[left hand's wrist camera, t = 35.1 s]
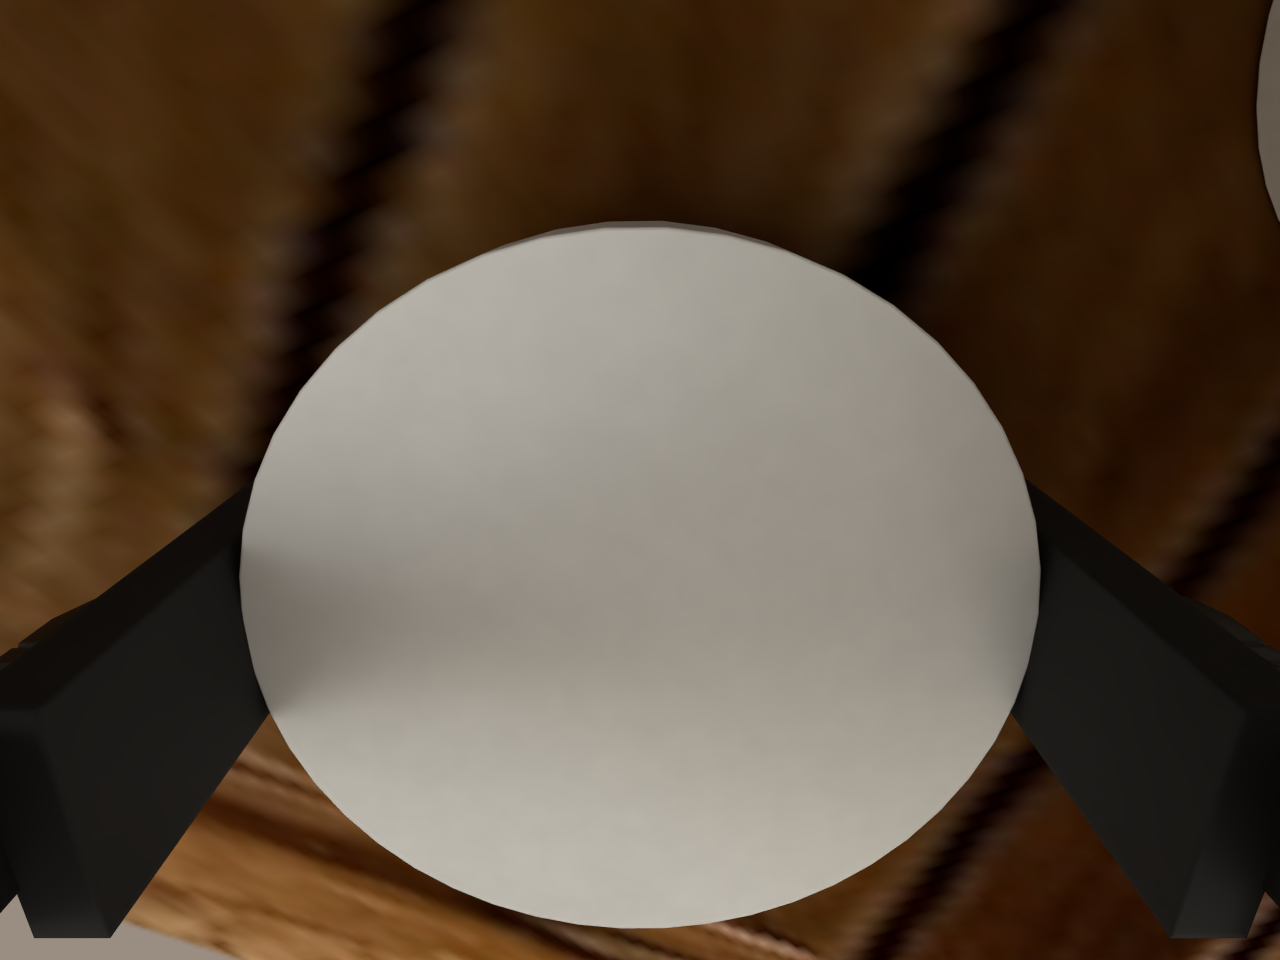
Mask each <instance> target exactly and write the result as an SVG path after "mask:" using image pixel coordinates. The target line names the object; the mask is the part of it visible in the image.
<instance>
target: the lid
mask: <svg viewBox="0 0 1280 960" xmlns="http://www.w3.org/2000/svg"><path fill="white" fill-rule="evenodd" d="M1040 575H1041V567H1040V558H1039V548H1038V539H1037V529H1036V521H1035V517H1034V513H1033V509H1032V506H1031V502H1030V498H1029V494H1028V491H1027V487H1026V483H1025V479H1024V475H1023V473H1022V470H1021V468H1020V466H1019V463H1018V461H1017V459H1016V457H1015V454H1014V452H1013V450H1012V448H1011V445H1010V443H1009V441H1008V439H1007V436H1006V434H1005V432H1004V430H1003V427H1002V426H1001V424H1000V423H999V421H998V419H997V418H996V416H995V415H994V413H993V412H992V410H991V409H990V407H989V405H988V404H987V402H986V401H985V399H984V398H983V396H982V395H981V393H980V391H979V390H978V388H977V387H976V385H975V384H974V382H973V381H972V380H971V379H970V378H969V377H968V376H967V374H966V373H965V372H964V371H963V370H962V369H961V368H960V367H959V365H958V364H957V363H956V362H955V361H954V360H953V359H952V358H951V356H950V355H949V354H948V353H947V352H946V351H945V350H944V348H943V347H942V346H941V345H940V344H939V343H938V342H937V341H936V340H935V339H934V338H932V337H931V336H930V335H929V334H928V333H926V332H925V331H924V330H923V329H922V328H920V327H919V326H918V325H917V324H916V323H914V322H913V321H912V320H911V319H910V318H909V317H907V316H906V315H905V314H904V313H903V312H901V311H900V310H899V309H898V308H897V307H895V306H894V305H893V304H891V303H889V302H888V301H886V300H884V299H883V298H881V297H879V296H878V295H876V294H875V293H873V292H871V291H870V290H868V289H866V288H865V287H863V286H862V285H860V284H858V283H857V282H855V281H853V280H852V279H850V278H848V277H847V276H845V275H843V274H841V273H839V272H836V271H834V270H832V269H830V268H827V267H825V266H823V265H820V264H818V263H816V262H813V261H811V260H809V259H806V258H804V257H802V256H799V255H797V254H795V253H792V252H790V251H788V250H785V249H783V248H780V247H778V246H776V245H773V244H771V243H768V242H766V241H762V240H758V239H755V238H751V237H747V236H744V235H740V234H736V233H733V232H729V231H725V230H722V229H718V228H713V227H706V226H698V225H690V224H682V223H674V222H666V221H615V222H603V223H596V224H589V225H583V226H576V227H569V228H563V229H556V230H553V231H549V232H546V233H543V234H539V235H536V236H533V237H529V238H526V239H522V240H519V241H516V242H512V243H509V244H506V245H503V246H501V247H498V248H496V249H493V250H491V251H488V252H486V253H484V254H481V255H479V256H477V257H475V258H472V259H470V260H468V261H466V262H464V263H462V264H459V265H457V266H455V267H453V268H451V269H448V270H446V271H444V272H442V273H440V274H437V275H435V276H433V277H431V278H429V279H427V280H425V281H424V282H422V283H421V284H419V285H417V286H416V287H414V288H413V289H411V290H410V291H408V292H407V293H405V294H404V295H402V296H400V297H399V298H397V299H396V300H394V301H393V302H391V303H390V304H388V305H387V306H385V307H383V308H382V309H380V310H379V311H377V312H376V313H375V314H374V315H373V316H372V317H371V318H370V319H368V320H367V321H366V322H365V323H364V324H363V325H362V326H360V327H359V328H358V329H357V330H356V331H355V332H354V333H352V334H351V335H350V336H349V337H348V338H347V339H346V340H344V341H343V342H342V343H341V344H340V345H339V346H338V347H336V348H335V350H334V351H333V352H332V353H331V354H330V356H329V357H328V358H327V359H326V360H325V362H324V363H323V364H322V365H321V366H320V367H319V369H318V370H317V371H316V372H315V373H314V375H313V376H312V377H311V378H310V379H309V381H308V382H307V383H306V384H305V385H304V386H303V388H302V389H301V390H300V392H299V393H298V395H297V397H296V398H295V400H294V402H293V403H292V405H291V407H290V408H289V410H288V412H287V413H286V415H285V416H284V418H283V420H282V421H281V423H280V425H279V426H278V428H277V430H276V431H275V433H274V435H273V437H272V440H271V442H270V444H269V447H268V449H267V452H266V454H265V457H264V459H263V461H262V464H261V466H260V469H259V471H258V473H257V476H256V478H255V481H254V485H253V489H252V493H251V497H250V502H249V506H248V510H247V514H246V518H245V522H244V527H243V535H242V548H241V560H240V573H239V581H240V595H241V609H242V615H243V620H244V625H245V630H246V635H247V639H248V644H249V649H250V654H251V658H252V663H253V667H254V671H255V675H256V678H257V680H258V683H259V686H260V688H261V691H262V694H263V696H264V699H265V702H266V704H267V707H268V709H269V711H270V713H271V715H272V717H273V718H274V720H275V722H276V724H277V726H278V728H279V729H280V731H281V733H282V735H283V737H284V739H285V740H286V742H287V744H288V746H289V748H290V749H291V750H292V752H293V753H294V755H295V756H296V757H297V759H298V760H299V762H300V763H301V764H302V766H303V767H304V768H305V770H306V771H307V773H308V774H309V775H310V777H311V778H312V779H313V781H314V782H315V783H316V785H317V786H318V787H319V788H320V789H321V790H322V791H323V792H324V793H325V794H326V795H327V796H328V797H329V798H330V800H331V801H332V802H333V803H334V804H335V805H336V806H337V807H338V808H339V809H340V810H341V811H342V812H343V814H344V815H345V816H347V817H348V818H349V819H350V820H351V821H353V822H354V823H355V824H356V825H357V826H358V827H360V828H361V829H362V830H363V831H364V832H366V833H367V834H368V835H369V836H370V837H371V838H373V839H374V840H375V841H376V842H377V843H379V844H380V845H382V846H383V847H385V848H386V849H388V850H389V851H390V852H392V853H393V854H395V855H396V856H398V857H399V858H401V859H402V860H404V861H405V862H407V863H408V864H410V865H411V866H413V867H414V868H416V869H418V870H420V871H422V872H424V873H426V874H428V875H429V876H431V877H433V878H435V879H437V880H439V881H441V882H443V883H445V884H446V885H448V886H450V887H452V888H454V889H457V890H459V891H462V892H464V893H467V894H469V895H472V896H474V897H477V898H479V899H482V900H484V901H487V902H489V903H492V904H495V905H498V906H501V907H505V908H508V909H512V910H515V911H519V912H522V913H526V914H529V915H533V916H536V917H542V918H547V919H552V920H558V921H563V922H568V923H574V924H580V925H592V926H603V927H614V928H669V927H678V926H688V925H698V924H708V923H713V922H718V921H723V920H728V919H733V918H738V917H743V916H748V915H752V914H756V913H759V912H762V911H765V910H769V909H772V908H775V907H779V906H782V905H785V904H788V903H792V902H794V901H797V900H799V899H802V898H804V897H806V896H809V895H811V894H813V893H816V892H818V891H821V890H823V889H825V888H828V887H830V886H833V885H835V884H836V883H838V882H840V881H842V880H844V879H846V878H847V877H849V876H851V875H853V874H855V873H856V872H858V871H860V870H862V869H864V868H866V867H867V866H869V865H871V864H873V863H874V862H875V861H877V860H878V859H880V858H881V857H883V856H884V855H886V854H887V853H888V852H890V851H891V850H893V849H894V848H896V847H897V846H898V845H900V844H901V843H903V842H904V841H906V840H907V839H908V838H909V837H911V836H912V835H913V834H914V833H915V832H916V831H917V830H919V829H920V828H921V827H922V826H923V825H924V824H925V823H926V822H928V821H929V820H930V819H931V818H932V817H933V816H934V815H936V814H937V813H938V812H939V811H940V810H941V809H942V808H943V807H944V806H945V805H946V803H947V802H948V801H949V800H950V799H951V798H952V797H953V796H954V794H955V793H956V792H957V791H958V790H959V789H960V788H961V787H962V786H963V784H964V783H965V782H966V781H967V780H968V779H969V778H970V776H971V775H972V773H973V772H974V771H975V769H976V768H977V766H978V765H979V763H980V762H981V760H982V759H983V758H984V756H985V755H986V753H987V752H988V750H989V749H990V748H991V746H992V745H993V743H994V742H995V740H996V738H997V736H998V734H999V732H1000V730H1001V728H1002V726H1003V724H1004V722H1005V720H1006V719H1007V717H1008V715H1009V713H1010V711H1011V709H1012V707H1013V705H1014V703H1015V700H1016V698H1017V695H1018V692H1019V689H1020V686H1021V683H1022V681H1023V678H1024V675H1025V672H1026V669H1027V666H1028V662H1029V658H1030V653H1031V648H1032V643H1033V638H1034V634H1035V629H1036V624H1037V619H1038V614H1039V596H1040Z"/></svg>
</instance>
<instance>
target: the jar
mask: <svg viewBox="0 0 1280 960" xmlns="http://www.w3.org/2000/svg"><path fill="white" fill-rule="evenodd" d="M1256 118H1257V137H1258V150H1259V155H1260V160H1261V165H1262V170H1263V175H1264V180H1265V185H1266V188H1267V191H1268V194H1269V196H1270V199H1271V202H1272V205H1273V207H1274V210H1275V213H1276V216H1277V218H1278V220H1279V222H1280V0H1273V2H1272V5H1271V8H1270V11H1269V15H1268V19H1267V25H1266V30H1265V35H1264V40H1263V45H1262V50H1261V56H1260V61H1259V72H1258V85H1257V98H1256Z"/></svg>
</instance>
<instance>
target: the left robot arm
mask: <svg viewBox="0 0 1280 960" xmlns="http://www.w3.org/2000/svg"><path fill="white" fill-rule="evenodd" d="M1024 479H1025V478H1024ZM254 481H255V479H254V480H253V481H252V482H250V483H249V484H248V485H246V486H245V487H244V488H242V489H241V490H240V491H238V492H237V493H236V494H234V495H233V496H232V497H230V498H229V499H228V500H226V501H225V502H224V503H222V504H221V505H220V506H218V507H217V508H216V509H214V510H213V511H212V512H210V513H209V514H208V515H207V516H205V517H204V518H203V519H201V520H200V521H199V522H197V523H196V524H195V525H193V526H192V527H191V528H189V529H188V530H187V531H185V532H184V533H183V534H181V535H180V536H179V537H177V538H176V539H175V540H173V541H172V542H171V543H169V544H168V545H167V546H165V547H164V548H163V549H161V550H160V551H159V552H157V553H156V554H155V555H153V556H152V557H151V558H149V559H148V560H147V561H145V562H144V563H143V564H141V565H140V566H139V567H137V568H136V569H135V570H133V571H132V572H131V573H129V574H128V575H127V576H125V577H124V578H123V579H121V580H120V581H119V582H117V583H116V584H115V585H113V586H112V587H111V588H109V589H108V590H107V591H105V592H104V593H103V594H101V595H100V596H99V597H98V598H96V599H94V600H92V601H89V602H87V603H85V604H83V605H81V606H79V607H77V608H75V609H72V610H70V611H68V612H66V613H64V614H62V615H60V616H58V617H55V618H53V619H51V620H50V621H49V622H47V623H46V624H45V625H43V626H42V627H40V628H39V629H38V630H36V631H35V632H34V633H32V634H31V635H29V636H28V637H27V638H25V639H24V640H23V641H21V642H20V643H19V647H18V648H12V649H10V650H9V651H8V652H6V653H5V654H3V655H2V656H1V657H0V913H1V912H2V910H3V909H4V908H5V907H6V906H7V905H8V904H9V903H10V901H11V900H12V899H13V898H14V897H15V896H16V895H18V897H19V900H20V903H21V905H22V908H23V910H24V913H25V916H26V918H27V921H28V923H29V926H30V928H31V931H32V934H33V936H34V938H111V936H112V935H113V933H114V932H115V931H116V929H117V928H118V926H119V925H120V924H121V922H122V921H123V919H124V918H125V916H126V915H127V914H128V912H129V911H130V909H131V908H132V907H133V905H134V904H135V902H136V901H137V900H138V898H139V897H140V895H141V894H142V892H143V891H144V890H145V888H146V887H147V885H148V884H149V883H150V881H151V880H152V878H153V877H154V876H155V874H156V873H157V871H158V870H159V868H160V867H161V866H162V864H163V863H164V861H165V860H166V859H167V857H168V856H169V854H170V853H171V851H172V850H173V849H174V847H175V846H176V844H177V843H178V842H179V840H180V839H181V837H182V836H183V835H184V833H185V832H186V830H187V829H188V827H189V826H190V825H191V823H192V822H193V820H194V819H195V818H196V816H197V815H198V813H199V812H200V810H201V809H202V808H203V806H204V805H205V803H206V802H207V801H208V799H209V798H210V796H211V795H212V794H213V792H214V791H215V789H216V788H217V786H218V785H219V784H220V782H221V781H222V779H223V778H224V777H225V775H226V774H227V772H228V771H229V769H230V768H231V767H232V765H233V764H234V762H235V761H236V760H237V758H238V757H239V755H240V754H241V753H242V751H243V750H244V748H245V747H246V745H247V744H248V743H249V741H250V740H251V738H252V737H253V736H254V734H255V733H256V731H257V730H258V728H259V727H260V726H261V724H262V723H263V721H264V720H265V719H266V717H267V716H268V714H269V713H270V711H269V709H268V707H267V704H266V702H265V699H264V696H263V694H262V691H261V688H260V686H259V683H258V680H257V678H256V675H255V671H254V667H253V663H252V658H251V654H250V649H249V644H248V639H247V635H246V630H245V625H244V620H243V615H242V609H241V595H240V581H239V573H240V560H241V548H242V535H243V527H244V522H245V518H246V514H247V510H248V506H249V502H250V497H251V493H252V489H253V485H254ZM1025 483H1026V487H1027V491H1028V494H1029V498H1030V502H1031V506H1032V509H1033V513H1034V517H1035V521H1036V529H1037V539H1038V548H1039V558H1040V567H1041V575H1040V596H1039V614H1038V619H1037V624H1036V629H1035V634H1034V638H1033V643H1032V648H1031V653H1030V658H1029V662H1028V666H1027V669H1026V672H1025V675H1024V678H1023V681H1022V683H1021V686H1020V689H1019V692H1018V695H1017V698H1016V700H1015V703H1014V705H1013V707H1012V709H1011V711H1010V712H1011V714H1012V715H1013V716H1014V718H1015V719H1016V721H1017V722H1018V724H1019V725H1020V726H1021V728H1022V729H1023V731H1024V732H1025V733H1026V735H1027V736H1028V738H1029V739H1030V740H1031V742H1032V743H1033V745H1034V746H1035V748H1036V749H1037V750H1038V752H1039V753H1040V755H1041V756H1042V757H1043V759H1044V760H1045V762H1046V763H1047V765H1048V766H1049V767H1050V769H1051V770H1052V772H1053V773H1054V774H1055V776H1056V777H1057V779H1058V780H1059V781H1060V783H1061V784H1062V786H1063V787H1064V789H1065V790H1066V791H1067V793H1068V794H1069V796H1070V797H1071V798H1072V800H1073V801H1074V803H1075V804H1076V805H1077V807H1078V808H1079V810H1080V811H1081V813H1082V814H1083V815H1084V817H1085V818H1086V820H1087V821H1088V822H1089V824H1090V825H1091V827H1092V828H1093V830H1094V831H1095V832H1096V834H1097V835H1098V837H1099V838H1100V839H1101V841H1102V842H1103V844H1104V845H1105V846H1106V848H1107V849H1108V851H1109V852H1110V854H1111V855H1112V856H1113V858H1114V859H1115V861H1116V862H1117V863H1118V865H1119V866H1120V868H1121V869H1122V870H1123V872H1124V873H1125V875H1126V876H1127V878H1128V879H1129V880H1130V882H1131V883H1132V885H1133V886H1134V887H1135V889H1136V890H1137V892H1138V893H1139V895H1140V896H1141V897H1142V899H1143V900H1144V902H1145V903H1146V904H1147V906H1148V907H1149V909H1150V910H1151V911H1152V913H1153V914H1154V916H1155V917H1156V919H1157V920H1158V921H1159V923H1160V924H1161V926H1162V927H1163V928H1164V930H1165V931H1166V933H1167V934H1168V936H1169V937H1170V938H1247V936H1248V933H1249V930H1250V928H1251V925H1252V923H1253V920H1254V917H1255V915H1256V912H1257V910H1258V907H1259V905H1260V902H1261V899H1262V897H1263V894H1264V892H1266V893H1267V894H1268V895H1269V896H1270V897H1271V898H1272V900H1273V901H1274V902H1275V903H1276V904H1277V905H1278V906H1279V907H1280V652H1278V651H1277V650H1275V649H1274V648H1273V647H1271V646H1270V645H1263V640H1262V639H1260V638H1259V637H1258V636H1256V635H1255V634H1253V633H1252V632H1251V631H1249V630H1248V629H1246V628H1245V627H1244V626H1242V625H1241V624H1240V623H1238V622H1237V621H1235V620H1234V619H1233V618H1231V617H1230V616H1228V615H1226V614H1224V613H1221V612H1219V611H1217V610H1215V609H1213V608H1211V607H1209V606H1206V605H1204V604H1202V603H1200V602H1198V601H1196V600H1194V599H1191V598H1189V597H1187V596H1180V595H1179V594H1178V593H1176V592H1175V591H1174V590H1172V589H1171V588H1170V587H1168V586H1167V585H1166V584H1164V583H1163V582H1162V581H1160V580H1159V579H1158V578H1156V577H1155V576H1154V575H1153V574H1151V573H1150V572H1149V571H1147V570H1146V569H1145V568H1143V567H1142V566H1141V565H1139V564H1138V563H1137V562H1135V561H1134V560H1133V559H1131V558H1130V557H1129V556H1127V555H1126V554H1125V553H1123V552H1122V551H1121V550H1119V549H1118V548H1117V547H1115V546H1114V545H1113V544H1111V543H1110V542H1109V541H1107V540H1106V539H1105V538H1103V537H1102V536H1101V535H1099V534H1098V533H1097V532H1095V531H1094V530H1093V529H1091V528H1090V527H1089V526H1087V525H1086V524H1085V523H1083V522H1082V521H1081V520H1079V519H1078V518H1077V517H1075V516H1074V515H1073V514H1071V513H1070V512H1069V511H1067V510H1066V509H1065V508H1063V507H1062V506H1061V505H1059V504H1058V503H1057V502H1055V501H1054V500H1053V499H1051V498H1050V497H1049V496H1047V495H1046V494H1045V493H1043V492H1042V491H1041V490H1039V489H1038V488H1037V487H1035V486H1034V485H1033V484H1032V483H1030V482H1029V481H1028V480H1026V479H1025Z"/></svg>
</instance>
